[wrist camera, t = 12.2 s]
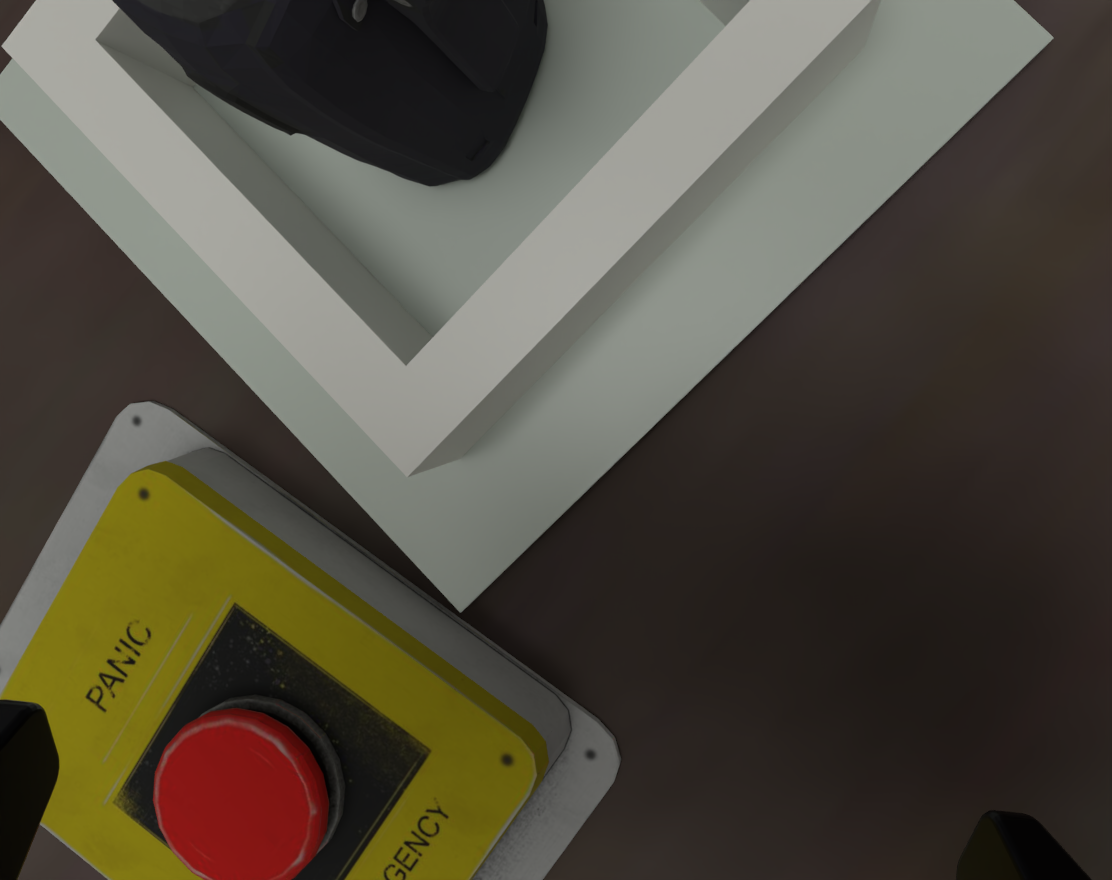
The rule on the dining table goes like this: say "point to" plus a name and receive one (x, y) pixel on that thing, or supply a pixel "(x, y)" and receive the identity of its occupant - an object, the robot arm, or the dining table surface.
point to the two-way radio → (365, 72)
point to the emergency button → (276, 690)
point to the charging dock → (511, 232)
